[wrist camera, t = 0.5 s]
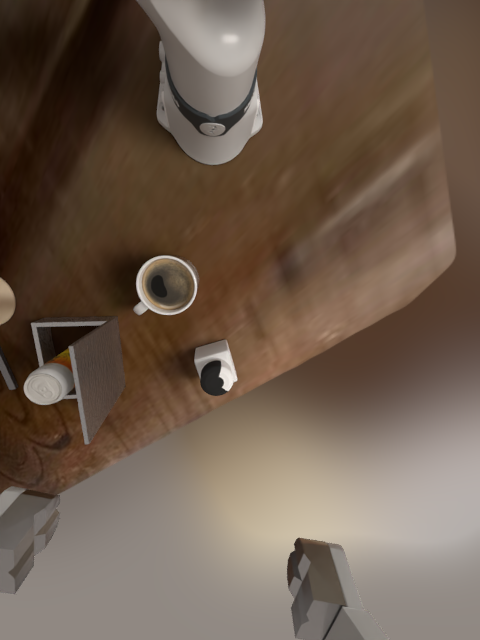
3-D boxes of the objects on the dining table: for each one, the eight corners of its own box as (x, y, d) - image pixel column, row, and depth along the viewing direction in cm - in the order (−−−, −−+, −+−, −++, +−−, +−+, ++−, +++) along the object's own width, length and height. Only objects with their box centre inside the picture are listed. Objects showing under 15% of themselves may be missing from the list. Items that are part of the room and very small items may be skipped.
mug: (200, 305, 54) (199, 317, 44) (142, 308, 53) (126, 321, 42) (197, 254, 52) (194, 254, 41) (136, 256, 50) (117, 256, 40)
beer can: (89, 334, 53) (44, 364, 38) (108, 357, 55) (72, 394, 40) (65, 350, 53) (11, 385, 39) (84, 372, 55) (40, 413, 40)
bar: (-7, 343, 51) (-11, 345, 50) (0, 342, 52) (-5, 344, 50) (14, 387, 54) (9, 389, 53) (19, 385, 54) (15, 388, 53)
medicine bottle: (204, 375, 58) (203, 405, 47) (195, 347, 56) (191, 371, 45) (234, 366, 59) (241, 393, 47) (226, 338, 57) (230, 359, 45)
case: (44, 317, 51) (-40, 349, 34) (117, 316, 53) (73, 346, 35) (57, 389, 55) (-12, 451, 38) (125, 386, 57) (89, 443, 39)
